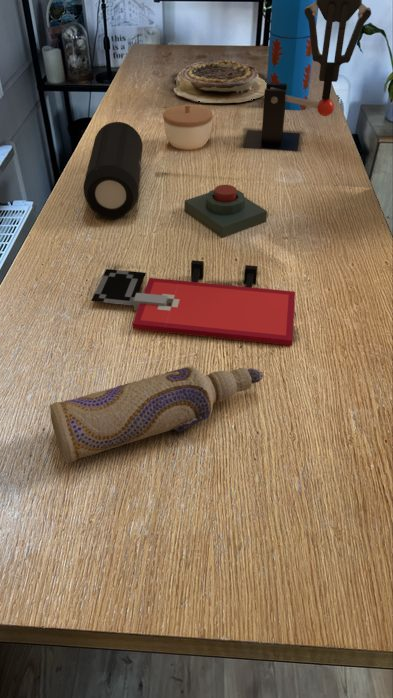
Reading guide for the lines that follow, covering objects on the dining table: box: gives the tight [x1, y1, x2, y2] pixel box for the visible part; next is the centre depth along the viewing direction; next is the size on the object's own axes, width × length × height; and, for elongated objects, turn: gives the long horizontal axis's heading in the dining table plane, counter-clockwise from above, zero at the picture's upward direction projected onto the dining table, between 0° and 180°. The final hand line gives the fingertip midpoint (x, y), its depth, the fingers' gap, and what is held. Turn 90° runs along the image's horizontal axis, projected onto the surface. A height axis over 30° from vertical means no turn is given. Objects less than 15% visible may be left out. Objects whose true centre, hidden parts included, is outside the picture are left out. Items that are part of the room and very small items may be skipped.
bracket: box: [242, 83, 301, 152], centre depth 129 cm, size 12×10×13 cm
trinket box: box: [162, 104, 213, 150], centre depth 129 cm, size 11×11×9 cm
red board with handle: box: [90, 259, 296, 346], centre depth 88 cm, size 30×3×15 cm
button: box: [213, 184, 238, 203], centre depth 106 cm, size 4×4×2 cm
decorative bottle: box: [49, 365, 264, 463], centre depth 69 cm, size 26×8×7 cm, turn 112°
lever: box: [270, 87, 335, 117], centre depth 126 cm, size 14×4×4 cm, turn 79°
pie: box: [172, 59, 267, 104], centre depth 162 cm, size 28×27×5 cm
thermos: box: [266, 0, 319, 112], centre depth 144 cm, size 11×11×25 cm
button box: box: [183, 189, 268, 239], centre depth 108 cm, size 12×10×4 cm
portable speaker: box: [82, 121, 144, 220], centre depth 113 cm, size 26×10×10 cm, turn 2°
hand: (325, 97), depth 124 cm, fingers closed
